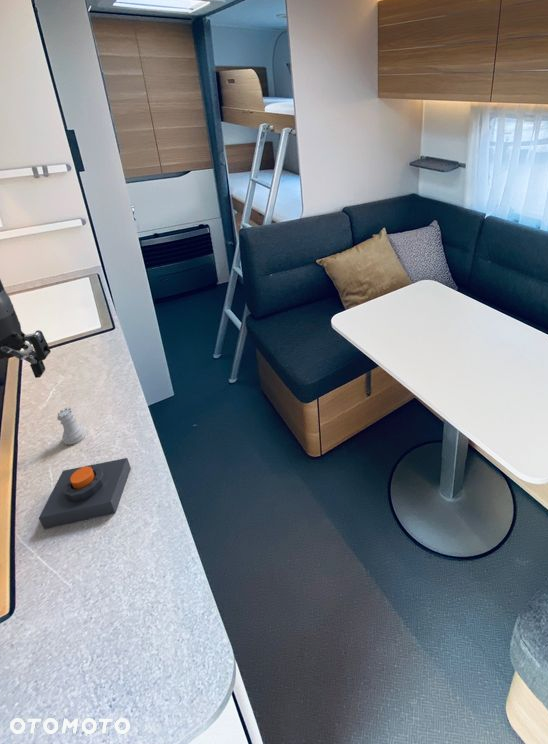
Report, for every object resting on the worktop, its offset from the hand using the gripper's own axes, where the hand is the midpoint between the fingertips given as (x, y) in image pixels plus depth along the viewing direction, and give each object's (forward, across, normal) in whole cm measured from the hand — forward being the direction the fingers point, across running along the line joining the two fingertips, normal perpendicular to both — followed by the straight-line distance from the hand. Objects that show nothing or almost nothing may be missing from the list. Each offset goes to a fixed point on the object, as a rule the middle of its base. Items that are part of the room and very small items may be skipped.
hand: (17, 378), depth 88 cm
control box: (+18, +16, -19) cm, 30 cm away
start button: (+13, +16, -19) cm, 28 cm away
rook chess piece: (+18, +7, -1) cm, 19 cm away
